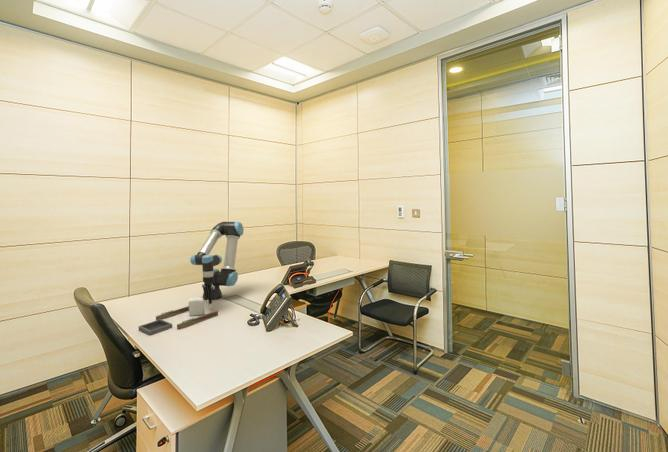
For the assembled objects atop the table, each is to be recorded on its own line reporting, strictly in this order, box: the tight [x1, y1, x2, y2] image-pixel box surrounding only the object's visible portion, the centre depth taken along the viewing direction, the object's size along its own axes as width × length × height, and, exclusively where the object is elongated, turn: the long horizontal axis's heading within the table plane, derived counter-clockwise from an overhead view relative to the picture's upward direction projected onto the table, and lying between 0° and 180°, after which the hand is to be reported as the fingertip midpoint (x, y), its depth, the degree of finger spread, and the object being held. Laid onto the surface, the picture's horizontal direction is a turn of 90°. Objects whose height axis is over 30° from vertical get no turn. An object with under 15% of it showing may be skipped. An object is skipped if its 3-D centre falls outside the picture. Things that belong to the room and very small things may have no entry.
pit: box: [137, 319, 173, 336], centre depth 206 cm, size 14×14×2 cm
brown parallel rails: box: [155, 305, 219, 330], centre depth 224 cm, size 28×30×4 cm
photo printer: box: [188, 297, 206, 317], centre depth 229 cm, size 10×4×12 cm, turn 100°
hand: (209, 307), depth 238 cm, fingers closed
